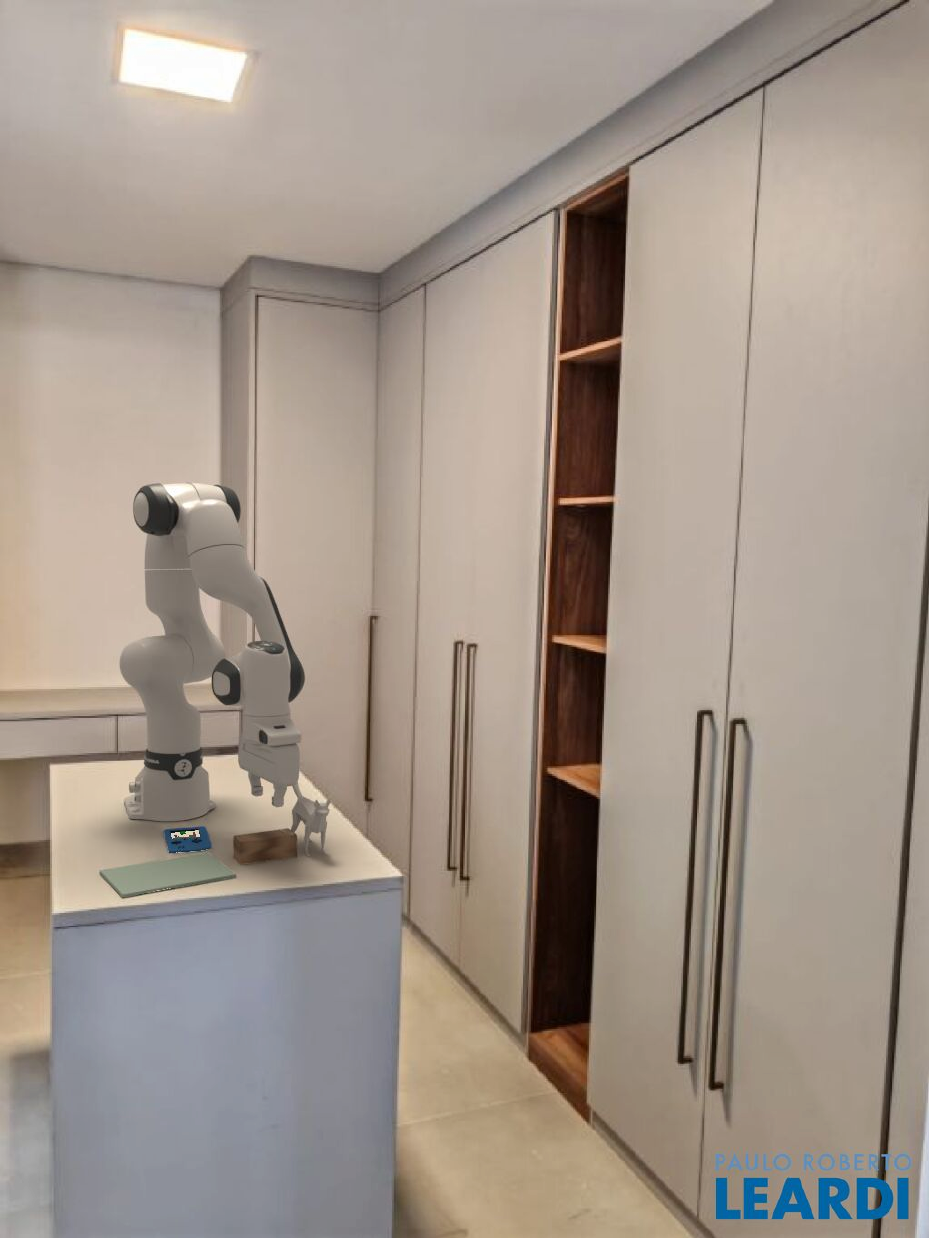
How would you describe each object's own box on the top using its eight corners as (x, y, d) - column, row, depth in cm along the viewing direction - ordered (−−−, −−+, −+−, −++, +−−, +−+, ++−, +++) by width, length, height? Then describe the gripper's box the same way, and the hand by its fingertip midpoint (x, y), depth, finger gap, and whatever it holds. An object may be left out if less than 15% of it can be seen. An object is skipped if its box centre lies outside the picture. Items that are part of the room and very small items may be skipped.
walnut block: (240, 865, 187) (240, 841, 187) (233, 858, 191) (233, 834, 191) (296, 857, 193) (296, 834, 192) (288, 851, 197) (288, 827, 196)
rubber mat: (99, 873, 180) (99, 870, 180) (207, 855, 192) (207, 852, 192) (122, 897, 169) (122, 894, 169) (236, 877, 180) (236, 874, 180)
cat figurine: (313, 863, 189) (314, 789, 188) (280, 834, 207) (280, 766, 205) (335, 860, 191) (336, 787, 190) (300, 831, 209) (301, 764, 207)
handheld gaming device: (168, 850, 192) (163, 827, 206) (168, 855, 192) (163, 832, 206) (213, 846, 195) (205, 824, 209) (213, 851, 195) (205, 829, 209)
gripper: (229, 721, 196) (230, 791, 197) (273, 738, 180) (273, 815, 181) (260, 718, 200) (260, 787, 201) (305, 735, 183) (306, 810, 184)
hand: (267, 800), depth 191 cm, fingers open, 8 cm apart
